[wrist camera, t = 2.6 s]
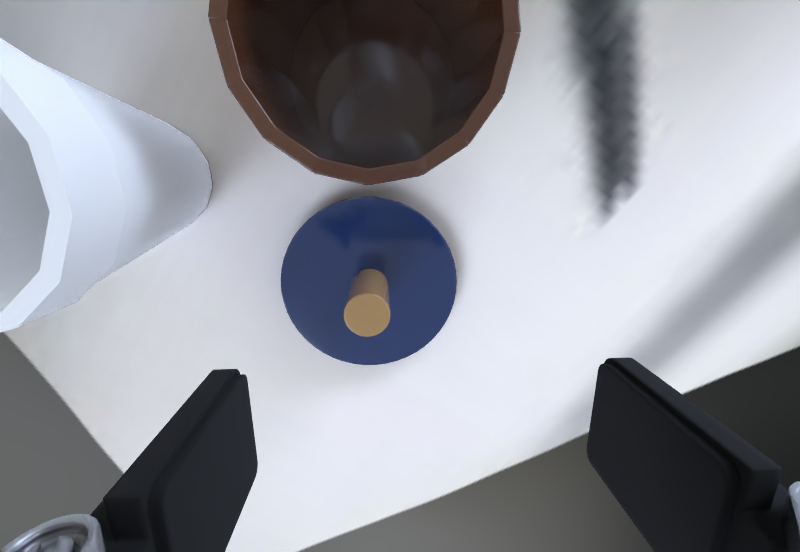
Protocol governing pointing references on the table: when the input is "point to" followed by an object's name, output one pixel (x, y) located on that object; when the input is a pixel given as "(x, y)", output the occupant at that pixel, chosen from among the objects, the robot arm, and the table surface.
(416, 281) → the lid
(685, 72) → the table surface
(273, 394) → the table surface
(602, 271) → the table surface
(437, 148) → the brown cup
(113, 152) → the foam cup
